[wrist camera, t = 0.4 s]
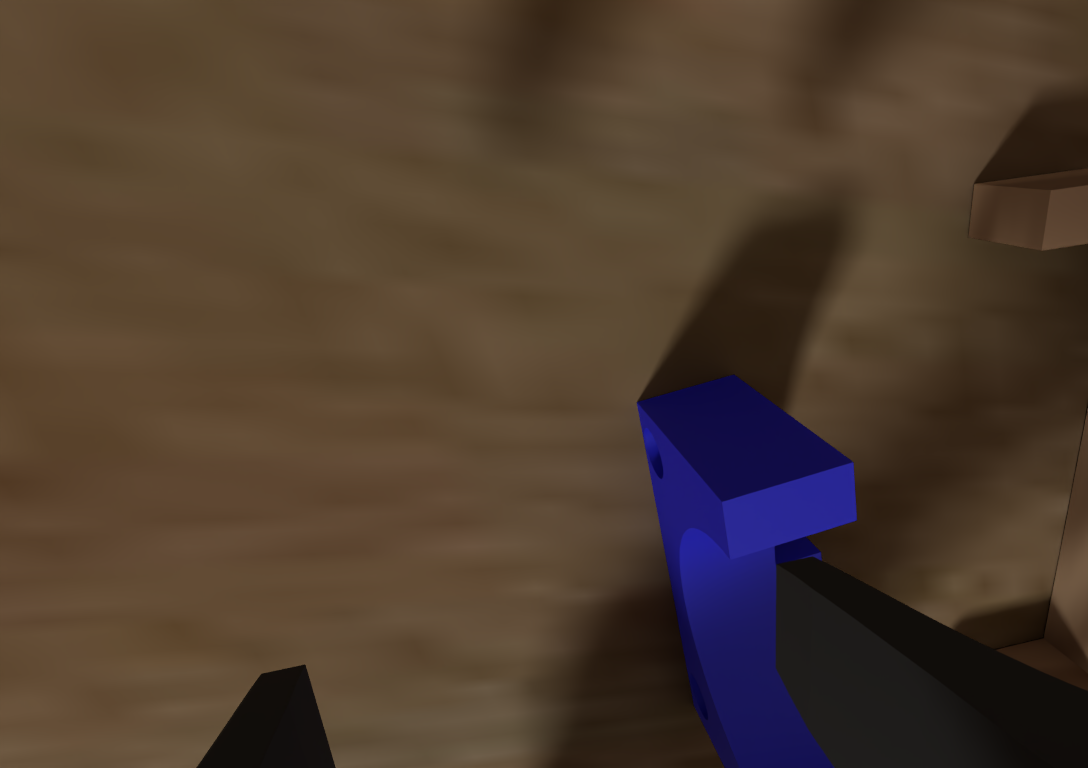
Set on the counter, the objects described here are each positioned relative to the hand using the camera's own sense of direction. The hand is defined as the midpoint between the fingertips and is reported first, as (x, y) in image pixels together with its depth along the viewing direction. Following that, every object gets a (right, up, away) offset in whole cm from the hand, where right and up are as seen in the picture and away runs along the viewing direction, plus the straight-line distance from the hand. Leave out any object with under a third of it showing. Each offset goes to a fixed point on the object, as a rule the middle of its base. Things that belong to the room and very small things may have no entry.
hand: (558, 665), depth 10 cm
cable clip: (+6, -1, +12) cm, 14 cm away
